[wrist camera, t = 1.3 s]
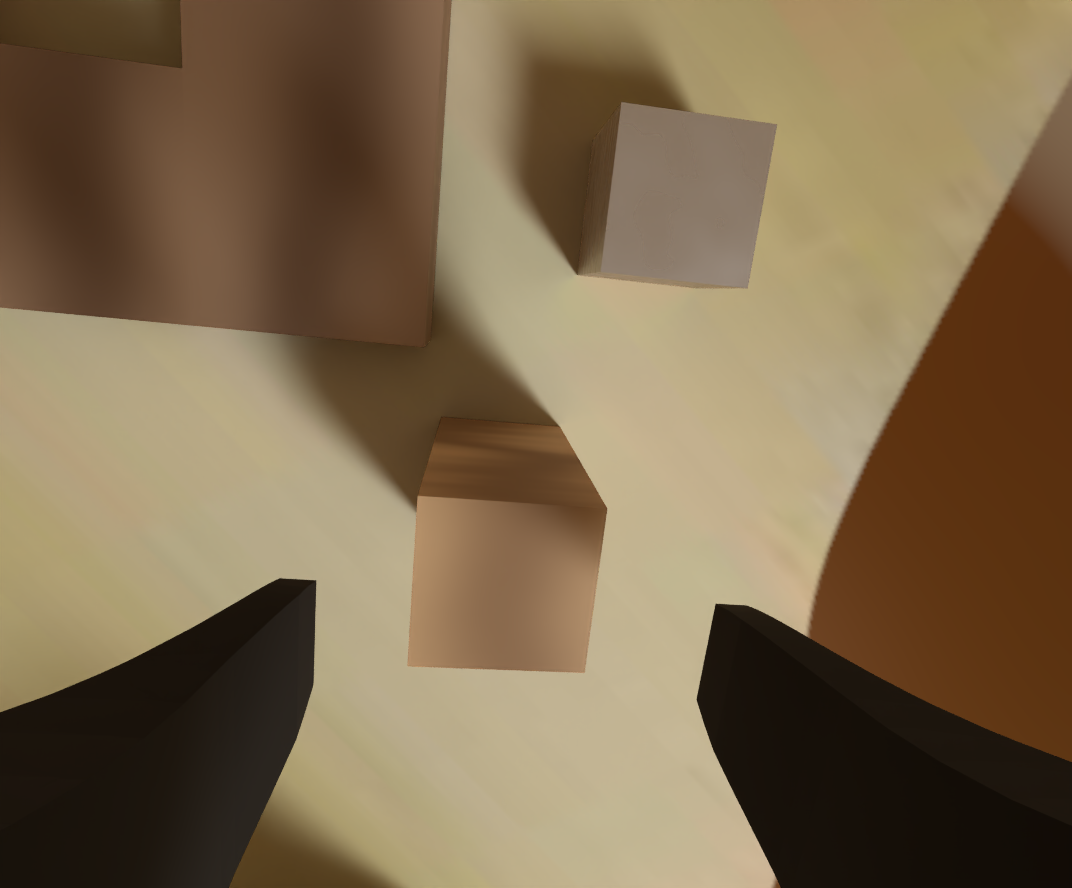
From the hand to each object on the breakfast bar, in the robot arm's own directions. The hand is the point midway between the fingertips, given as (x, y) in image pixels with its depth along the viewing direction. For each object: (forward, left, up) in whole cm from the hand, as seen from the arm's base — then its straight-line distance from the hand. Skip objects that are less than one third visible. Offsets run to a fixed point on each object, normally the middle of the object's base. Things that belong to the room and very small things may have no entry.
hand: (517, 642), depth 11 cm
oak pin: (0, 0, -10) cm, 10 cm away
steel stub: (+4, +9, -10) cm, 14 cm away
